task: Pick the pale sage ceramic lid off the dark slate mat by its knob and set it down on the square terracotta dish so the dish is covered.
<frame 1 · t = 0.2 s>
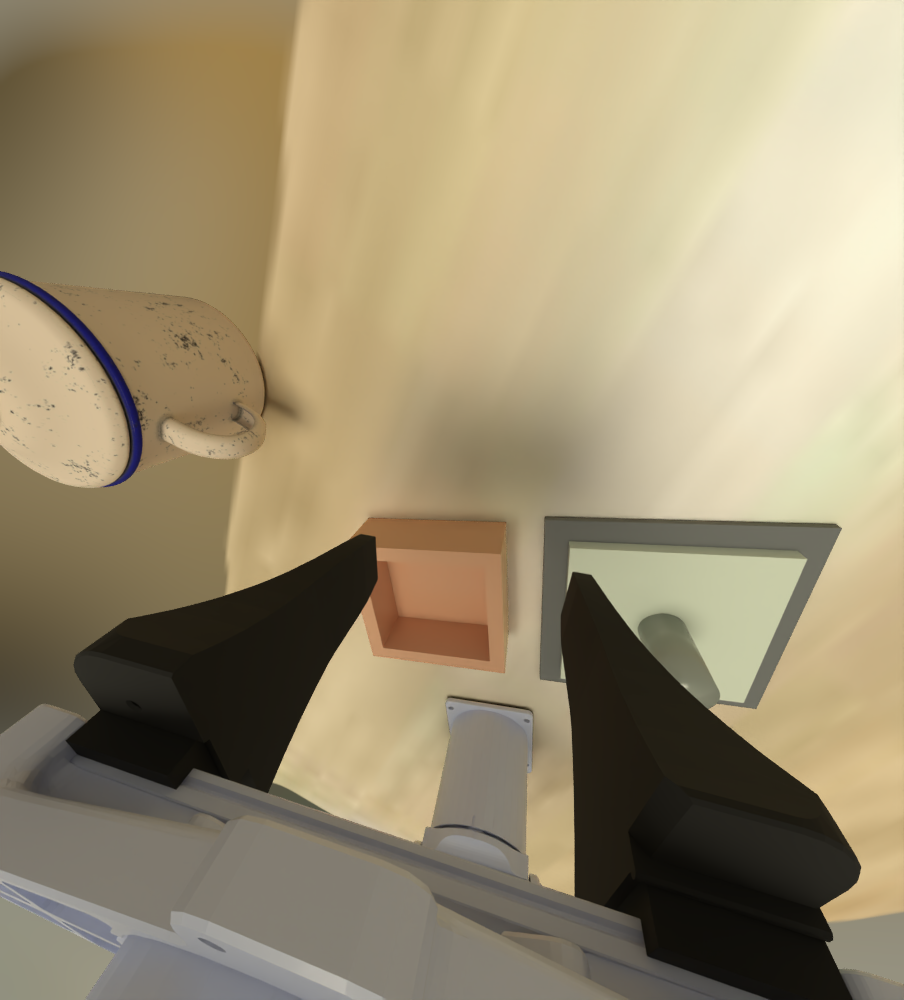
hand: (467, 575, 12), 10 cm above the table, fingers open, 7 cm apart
mat: (655, 616, 23), on the table
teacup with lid: (231, 382, 22), on the table
dish: (442, 574, 26), on the table
lid: (657, 620, 22), resting on mat
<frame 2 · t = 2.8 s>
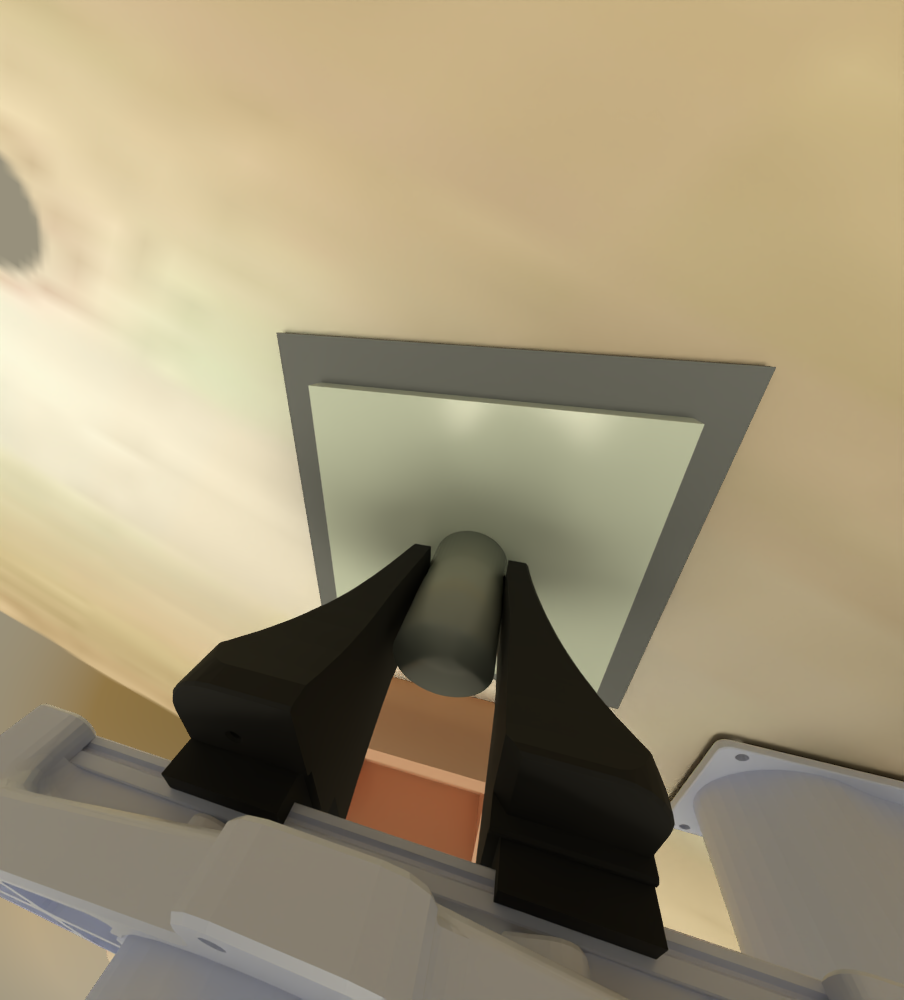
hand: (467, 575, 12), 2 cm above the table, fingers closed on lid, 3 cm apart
mat: (475, 544, 14), on the table
dish: (425, 730, 21), on the table
lid: (474, 550, 14), resting on mat, touching gripper
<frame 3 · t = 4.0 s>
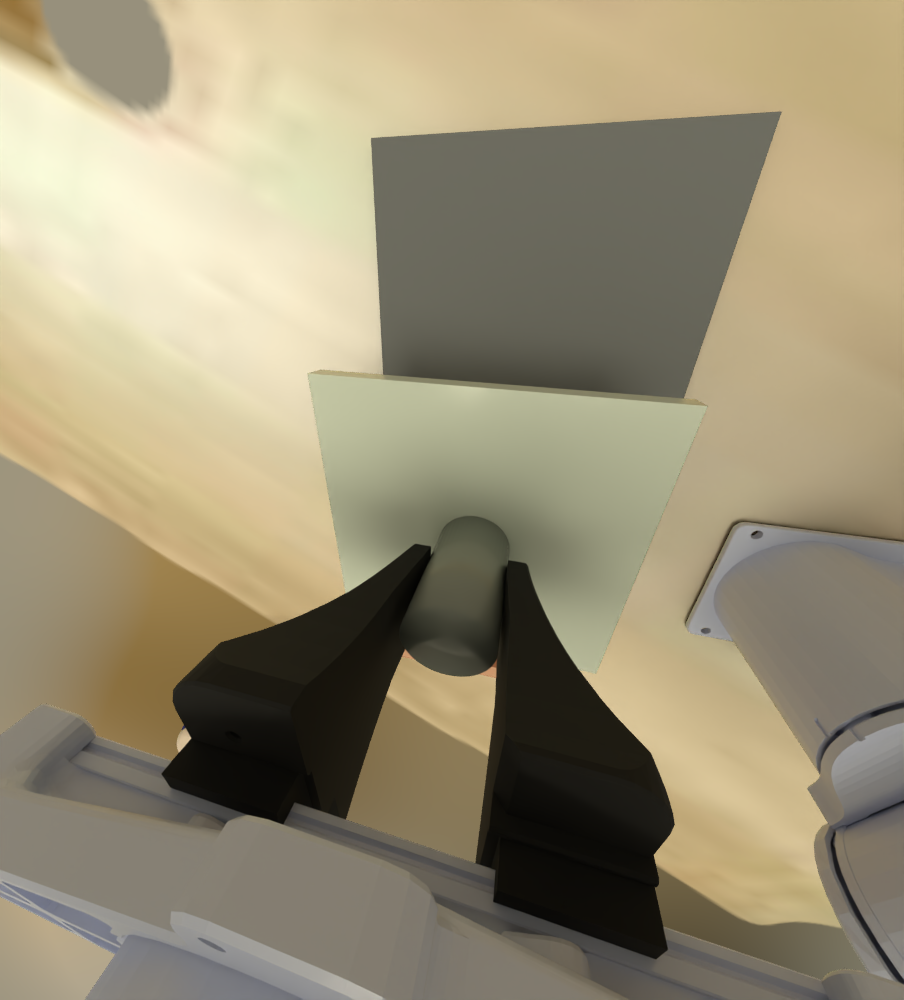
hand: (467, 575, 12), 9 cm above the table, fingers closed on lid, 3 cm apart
mat: (527, 343, 16), on the table
lid: (476, 534, 14), point 7 cm above the table, touching gripper
when the fingers open (7 cm above the table, at t = 5.6 s): lid stays where it is, resting on dish.
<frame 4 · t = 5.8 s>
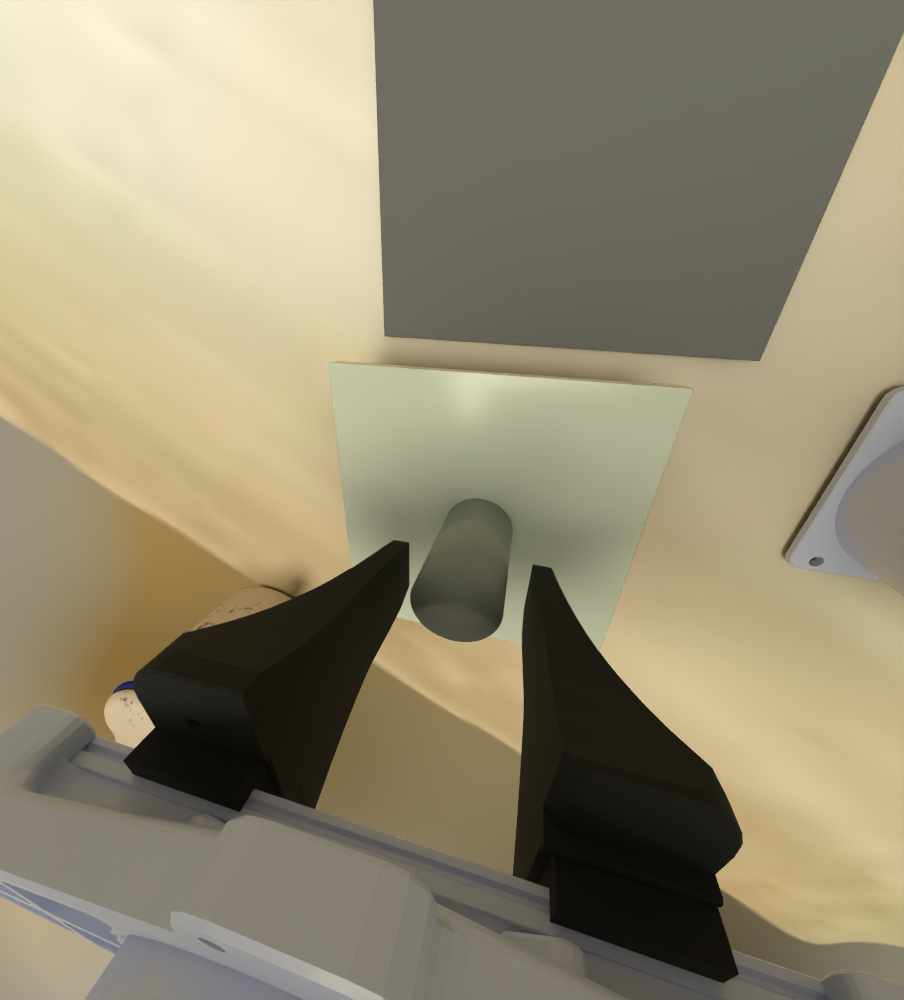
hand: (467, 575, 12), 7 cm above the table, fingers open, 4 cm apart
mat: (599, 92, 11), on the table
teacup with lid: (285, 614, 27), on the table
lid: (481, 519, 14), point 4 cm above the table, touching dish
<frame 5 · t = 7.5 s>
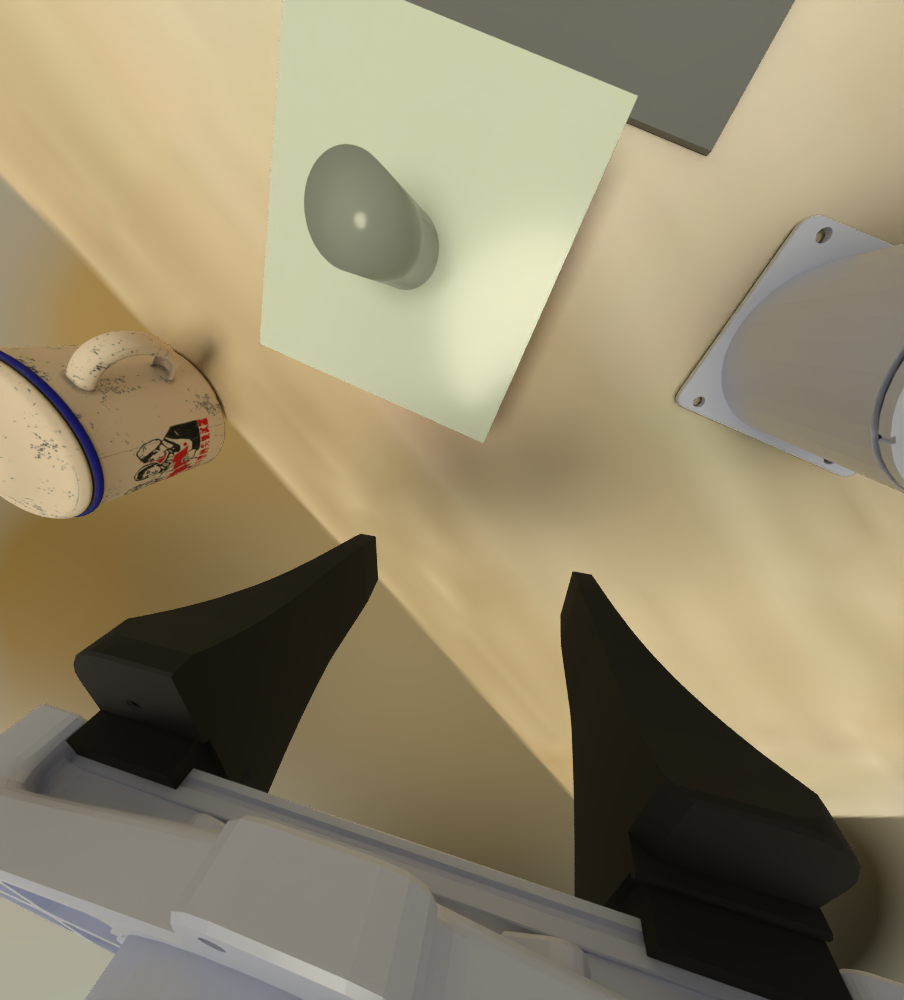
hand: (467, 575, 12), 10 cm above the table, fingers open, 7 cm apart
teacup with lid: (186, 395, 24), on the table
lid: (411, 252, 14), point 4 cm above the table, touching dish
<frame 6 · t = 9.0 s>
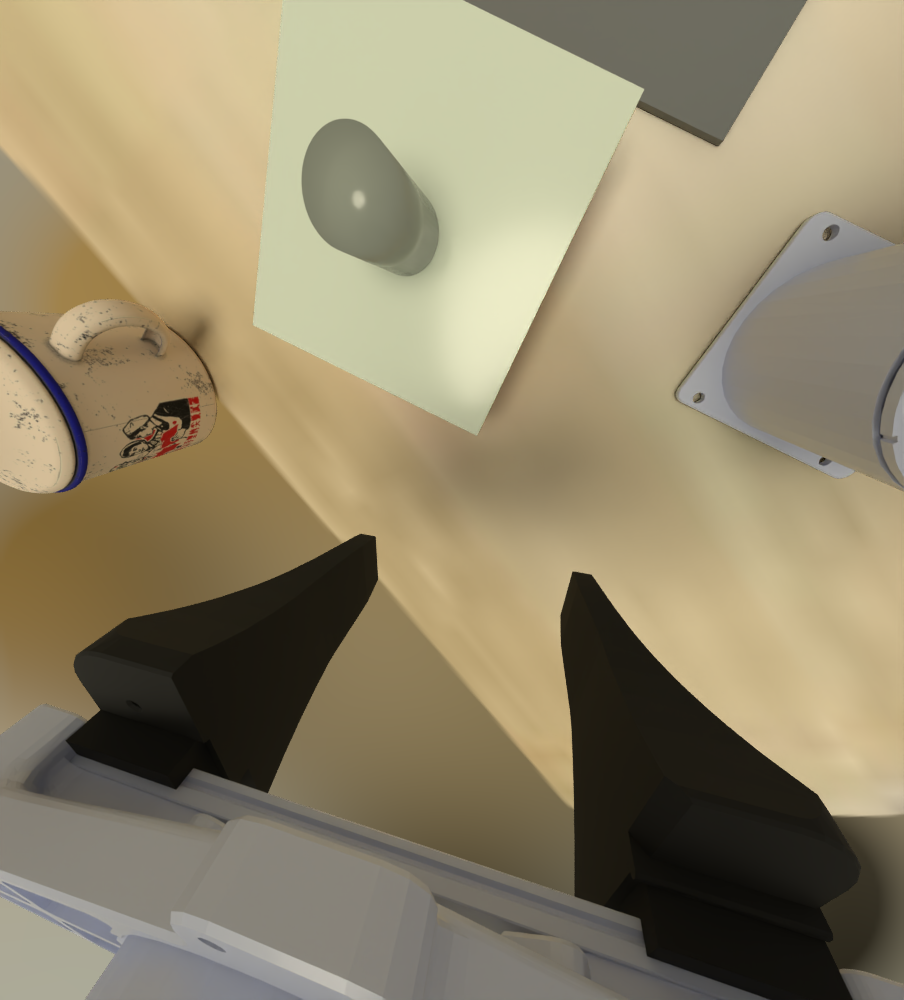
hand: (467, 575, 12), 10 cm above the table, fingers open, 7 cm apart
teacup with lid: (177, 372, 23), on the table
lid: (411, 238, 14), point 4 cm above the table, touching dish
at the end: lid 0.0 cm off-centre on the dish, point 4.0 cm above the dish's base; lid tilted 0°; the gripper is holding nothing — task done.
